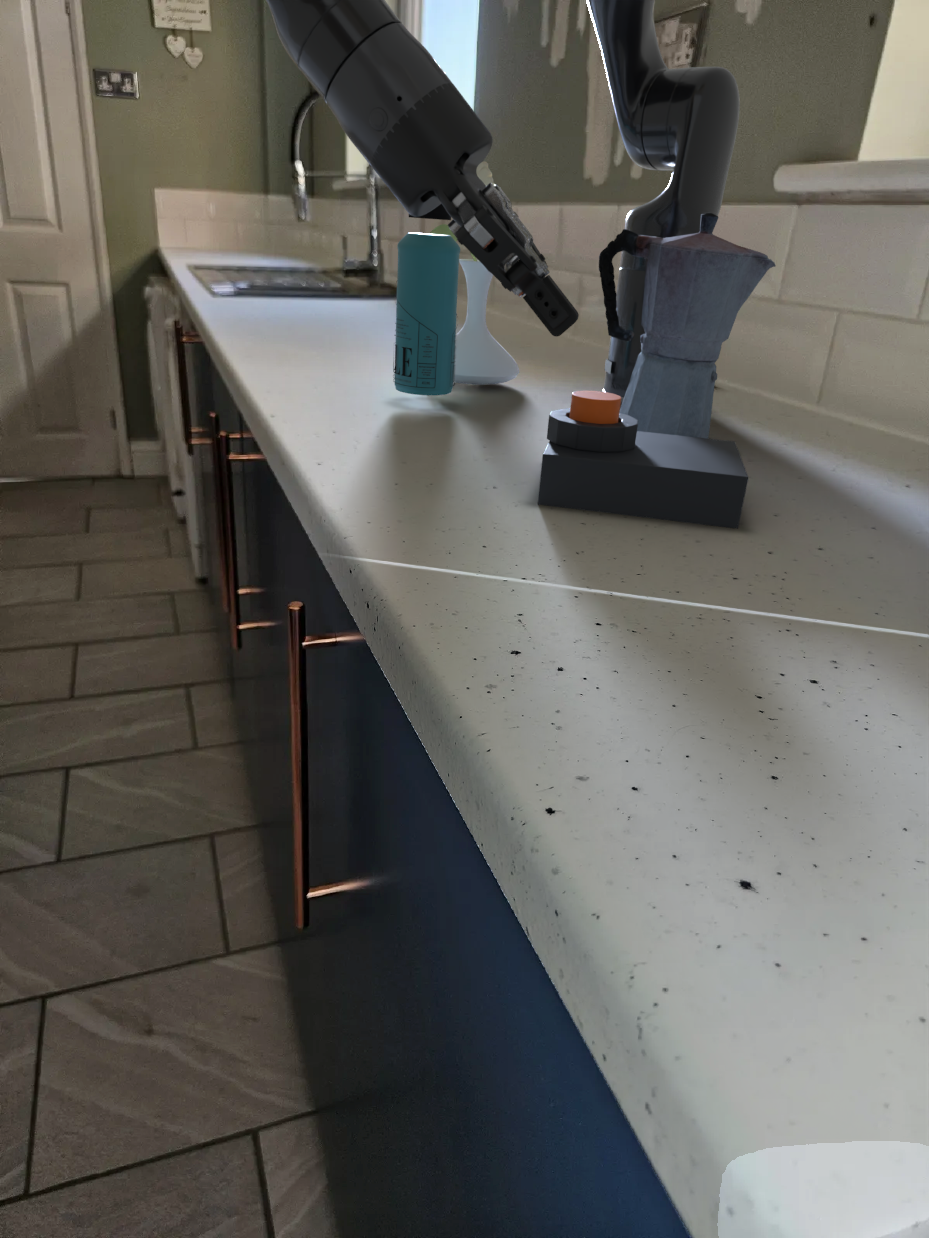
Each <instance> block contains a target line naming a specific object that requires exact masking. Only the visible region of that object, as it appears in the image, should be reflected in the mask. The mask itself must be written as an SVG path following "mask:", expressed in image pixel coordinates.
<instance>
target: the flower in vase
mask: <svg viewBox="0 0 929 1238" xmlns="http://www.w3.org/2000/svg"><path fill="white" fill-rule="evenodd" d="M489 166H490V165H489V163H488V162H487V161H485V160H484V161H483V162H481V163H480V164H479V165H478V167H477V170H476V173H477V176H478V177H479V179H481V180H482V182H483V183H484V184H485V185H486V186H487V185H488V184H489V183H492V184H493V185H494V186H495V185H496V183H495V182H494V181H495V180H494V178H493V172H492V171H491V169H490V168H489ZM428 234H439V235H450V236H451V237H452V238H453V239H454V240H455V241H456V242H458V240H457V238H456V236H455V235H454V234H453V233H452V231H451V230H450V229H449V227H448V224H444V223H442V224H440V225H438V226H436V227H435V228H433V229H432V230H431V231H430V232H429V233H428ZM469 253H470V255H471V257H472V258H459V266H460V267H461V268H462V272H463V273H464V277H465V283H466V292H467V294H466V295H467V296H466V297H467V303H466V305H467V306H466V307H467V308H466V317H465V320H464V324H463V326H462V328H461V329H460V330H459V331H458V332H457V333H456V338H455V340H457V341H456V342H455V346H456V347H455V348H456V349H455V357H456V358H455V361H456V362H455V364H454V365H456V366H454V370H455V372H454V373H455V374H454V375H455V377H454V378H455V379H454V380H455V381H454V380H453V381H454V383H458V384H464V385H476V386H477V385H480V386H481V385H482V386H483V385H487V386H488V385H496V384H503V383H507V382H509V381H511V380H514V379H516V378H517V377H518V375H519V374H520V368H519V364H518V363H517V362H516V360H515V359H514V357H513V356H512V355H511V354H510V353H509V351H507V350H506V349H505V348H504V347H503V346H502V345H501V344H500V343H499V342H498V341H497V339H496V338H495V337H494V336H493V335H492V334H491V332H490V330H489V328H488V325H487V319H486V318H487V317H486V316H487V302H488V297H489V296H488V295H489V289H490V286H491V282H492V280H493V277H494V275H493V274H492V273H490V272H489V271H488V270H487V269H486V268H485V266H484V265H483V264H482V263H481V262H480V261H479V260H478V259H477V258H476V257H475V256H474V255H473V254H472V253H471V252H470V251H469ZM455 368H456V369H455Z"/></svg>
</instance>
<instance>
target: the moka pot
mask: <svg viewBox="0 0 929 1238" xmlns="http://www.w3.org/2000/svg"><path fill="white" fill-rule="evenodd" d="M718 220H719V215H718V216H716V215H715V214H713V213H705V214H702V215H701V221H700V232H699V233H695V234H688V235H681V236H675V237H668V238H660V237H653V236H643V235H638V234H636V233H635V232H632V231H630V230H627V229H625V228H623V229H622V231H621V232H620V233H618V234H616V236H615V238H614V240H611V241H609V242H608V244H607V246H606V247H605V248H604V249H602V250H601V252H600V253H599V256H598V271H599V277H600V283H601V289H602V293H603V304H604V308H605V317H606V325H607V333H608V336H610V338H611V337H614V338H617V339H620V340H624V341H631V339H632V338H633V336H634V333H633V332H632V331H631V330H624V329H622V328H621V327H620V326H619V318H618V315H617V311H616V307H617V301H616V296H617V295H616V293H617V290H616V283H615V282H616V281H615V267H614V263H613V259H614V258H615V256H616V255H617V254H619V253H622V251H626V252H627V253H629V254H631V255H633V256H636V257H643V258H645V259H646V271H645V285H644V299H643V311H642V322H641V325H642V326H643V328H644V331H645V334H642V335H641V336H640V342H641V353H640V354H639V355H638V358H637V361H636V364H635V367H634V370H633V372H632V375H631V379H630V382H629V385H628V388H627V391H626V394H625V397H624V400H623V403H622V405H620V412H619V413H621V414H626V415H629V416H631V417H633V418H635V419H637V420H638V427H637V431H641V432H651V433H660V434H670V435H679V436H688V437H698V438H707V439H709V435H710V427H711V420H712V410H713V401H714V392H715V383H716V381H717V380H718V373H717V365H716V364H715V363H716V362H717V361H718V360H719V358H720V354H721V350H722V345H723V343H724V342H726V341H727V340H728V339H729V338H730V336H731V332H732V330H733V327H734V323H735V322H736V319H737V316H738V313H739V312H740V310H741V308H742V307H743V305H744V304H745V303H746V302H747V300H748V299H749V297H750V296H751V295H752V293H753V292H754V290H755V289H756V287H757V286H758V284H759V283H760V282H761V281H762V279H763V278H764V277H765V275H766V274H767V272H768V271H769V270H770V269H773V268H774V267H775V268H776V263H775V262H774V261H773V259H772V258H769V257H768V255H767V254H766V253H763V252H761V251H758V250H755V249H751V248H749V247H744V246H742V245H738V244H735V243H733V242H731V241H728V240H727V239H724V238H722V237H719V236H717V235H715V234H713V232H714V230H715V227H716V225H717V223H718Z"/></svg>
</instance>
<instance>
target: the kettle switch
mask: <svg viewBox="0 0 929 1238" xmlns="http://www.w3.org/2000/svg"><path fill="white" fill-rule="evenodd" d="M620 404H621V397H620V396H619V395H616V394H612V393H608V392H603V391H600V390H575V391H573V392H572V393H571V400H570V407H569V408H570V417H569V418H570V419H572V420H577V421H581V422H587V423H596V424H615V423H618V419H619V412H620V408H621V405H620Z"/></svg>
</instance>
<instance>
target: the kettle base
mask: <svg viewBox="0 0 929 1238" xmlns="http://www.w3.org/2000/svg"><path fill="white" fill-rule="evenodd" d="M570 408H571V407H565V408H559V409H554V410H551V411H550V413H549V415H548V422H547V430H546V431H547V433H546V440H548V443H547V445H546V447H545V449H544V451H543V453H542V458H541V469H540V479H539V485H538V486H539V487H538V496H537V497H538V498H537V505H539V506H546V507H547V506H548V507H556V508H564V509H570V510H571V509H573V510H579V511H589V512H596V513H604V514H605V513H606V514H612V515H613V514H614V515H620V516H621V515H622V516H630V517H639V518H647V519H655V520H661V521H662V520H663V521H672V522H679V523H688V524H695V525H705V526H710V527H711V526H713V527H719V528H720V527H722V528H727V529H739V525H740V520H741V516H742V511H743V507H744V502H745V496H746V493H747V492H746V491H747V486H748V482H749V475H748V472H747V469H746V467H745V465H744V461H743V459H742V456H741V454H740V451H739V449H738V446H737V444H736V443H737V442H736V441H735V440H725V439H717V438H708V439H707V438H698V437H688V436H679V435H670V434H660V433H651V432H641V431H637V427H638V420H637V419H635V418H633V417H631V416H629V415H626V414H621V413H619V419H618V423H615V424H596V423H587V422H581V421H577V420H572V419H570V418H569V417H570Z"/></svg>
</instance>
